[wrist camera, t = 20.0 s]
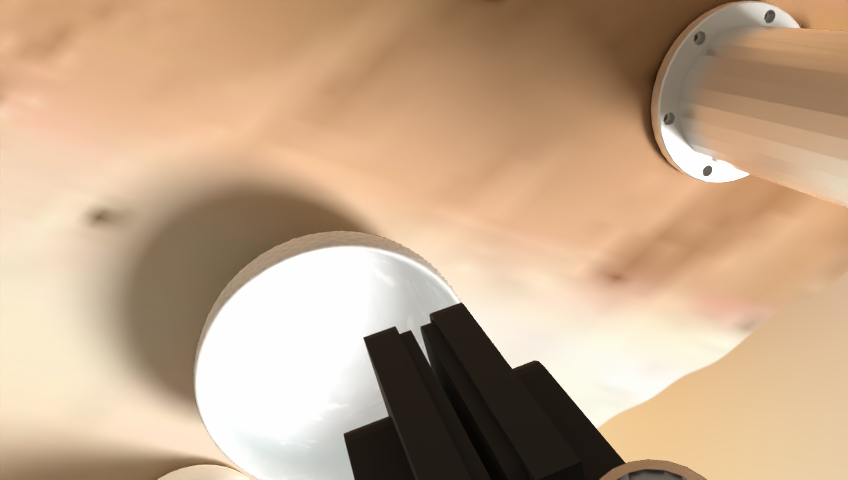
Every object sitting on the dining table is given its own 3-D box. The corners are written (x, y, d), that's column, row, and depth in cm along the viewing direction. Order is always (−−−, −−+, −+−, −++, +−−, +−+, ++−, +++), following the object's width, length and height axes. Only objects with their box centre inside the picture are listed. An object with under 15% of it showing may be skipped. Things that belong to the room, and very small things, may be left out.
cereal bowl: (144, 287, 40) (128, 343, 34) (380, 161, 41) (407, 191, 35) (281, 467, 47) (289, 541, 41) (478, 355, 49) (516, 409, 42)
